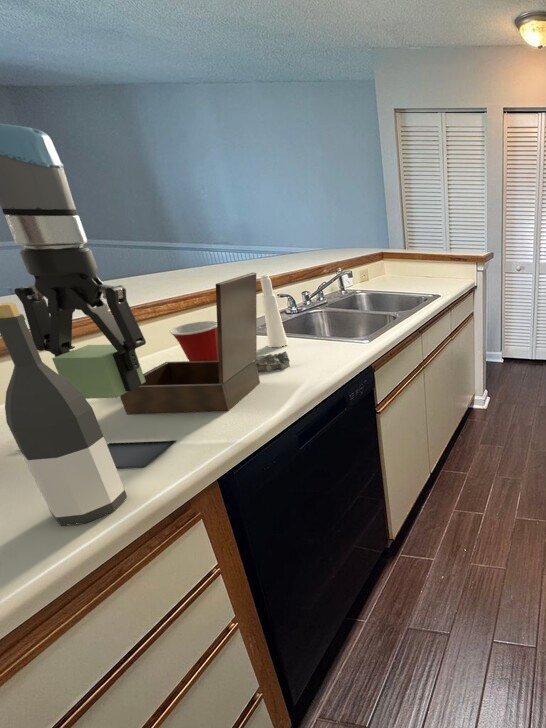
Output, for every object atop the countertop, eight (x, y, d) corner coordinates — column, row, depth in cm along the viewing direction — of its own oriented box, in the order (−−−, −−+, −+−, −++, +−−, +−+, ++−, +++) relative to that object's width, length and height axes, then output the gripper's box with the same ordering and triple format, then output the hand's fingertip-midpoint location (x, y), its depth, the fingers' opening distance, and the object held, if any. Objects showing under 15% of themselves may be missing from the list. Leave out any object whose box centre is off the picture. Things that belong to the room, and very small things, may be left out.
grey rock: (246, 377, 110) (242, 362, 108) (246, 368, 116) (243, 354, 114) (291, 371, 114) (288, 356, 113) (289, 362, 120) (287, 349, 119)
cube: (68, 399, 68) (51, 358, 65) (102, 382, 74) (87, 344, 71) (116, 398, 68) (101, 357, 66) (146, 381, 75) (133, 344, 72)
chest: (127, 418, 88) (116, 387, 85) (174, 388, 102) (166, 361, 99) (229, 414, 90) (221, 385, 87) (261, 386, 104) (255, 360, 102)
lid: (215, 283, 80) (220, 284, 80) (252, 272, 94) (256, 273, 94) (219, 382, 87) (223, 383, 87) (253, 358, 101) (256, 358, 102)
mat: (72, 470, 70) (71, 468, 70) (120, 437, 80) (120, 435, 80) (144, 467, 71) (143, 465, 71) (183, 435, 81) (182, 433, 81)
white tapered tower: (291, 345, 135) (278, 275, 127) (270, 349, 132) (256, 277, 123) (285, 341, 139) (272, 273, 131) (265, 344, 136) (250, 274, 127)
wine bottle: (84, 530, 57) (-16, 313, 46) (36, 522, 59) (-73, 309, 47) (142, 494, 65) (68, 299, 53) (98, 487, 66) (17, 296, 55)
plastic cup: (177, 368, 115) (164, 325, 110) (222, 359, 122) (212, 318, 117) (187, 378, 108) (173, 333, 103) (234, 368, 115) (224, 325, 111)
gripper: (145, 245, 67) (185, 378, 76) (3, 243, 65) (62, 382, 73) (110, 249, 60) (158, 395, 69) (-51, 248, 58) (21, 399, 66)
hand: (108, 388), depth 71 cm, fingers closed on cube, 7 cm apart
